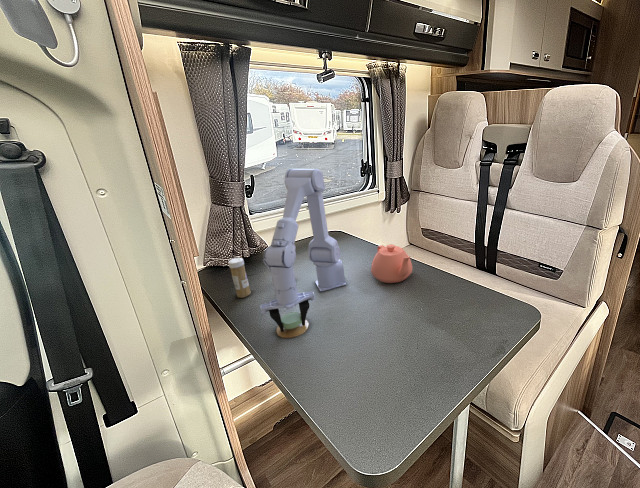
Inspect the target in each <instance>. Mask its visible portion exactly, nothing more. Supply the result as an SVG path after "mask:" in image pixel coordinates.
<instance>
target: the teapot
mask: <svg viewBox="0 0 640 488" xmlns="http://www.w3.org/2000/svg"><path fill="white" fill-rule="evenodd" d="M370 273H371V274H372V276H373V277H374V278H375V279H376V280H378V281H380V282H382V283H386V284H396V283H401V282H403V281H405V280H407V279H408V278H409V277H410V276H411V274H412V273H413V263H412V260H411V256H409V255H408V253H407V252H406V250H405V249H404V248H402V247H401V246H399V245H395V244H387V245H386V246H385V245H384V244H380V245H378V246H377V251H376V254H375V255H374V257H373V260H372V261H371V266H370Z"/></svg>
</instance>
